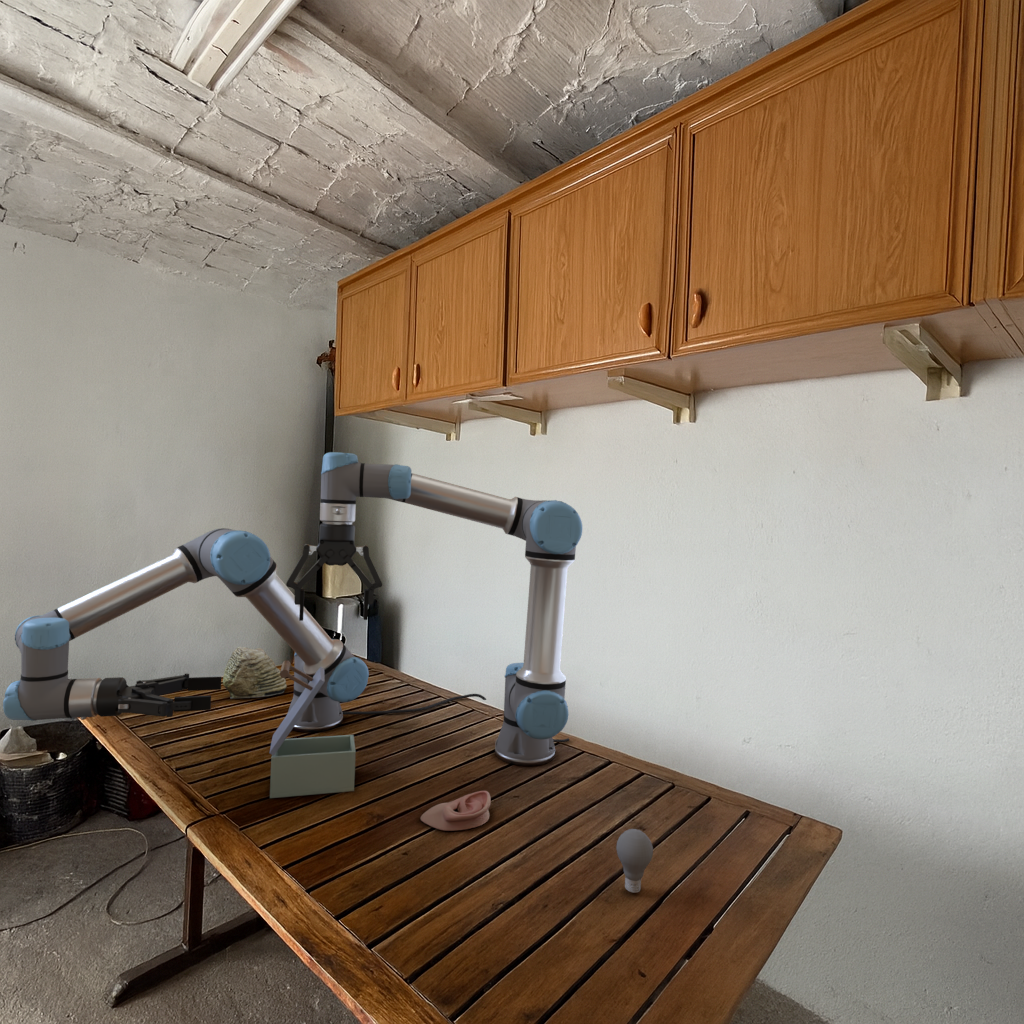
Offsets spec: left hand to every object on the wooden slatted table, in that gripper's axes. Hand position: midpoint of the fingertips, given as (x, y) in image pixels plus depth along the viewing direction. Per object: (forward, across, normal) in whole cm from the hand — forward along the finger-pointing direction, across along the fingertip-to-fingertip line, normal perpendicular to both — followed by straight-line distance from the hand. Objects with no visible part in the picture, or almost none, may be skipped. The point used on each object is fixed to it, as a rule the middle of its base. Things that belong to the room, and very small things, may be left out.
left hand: (216, 692), depth 133 cm
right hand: (+23, 0, +15) cm, 28 cm away
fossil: (+2, -67, -21) cm, 70 cm away
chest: (+20, 0, -21) cm, 29 cm away
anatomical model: (+48, +21, -21) cm, 56 cm away
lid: (+17, 0, -5) cm, 18 cm away
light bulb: (+72, +51, -21) cm, 90 cm away
